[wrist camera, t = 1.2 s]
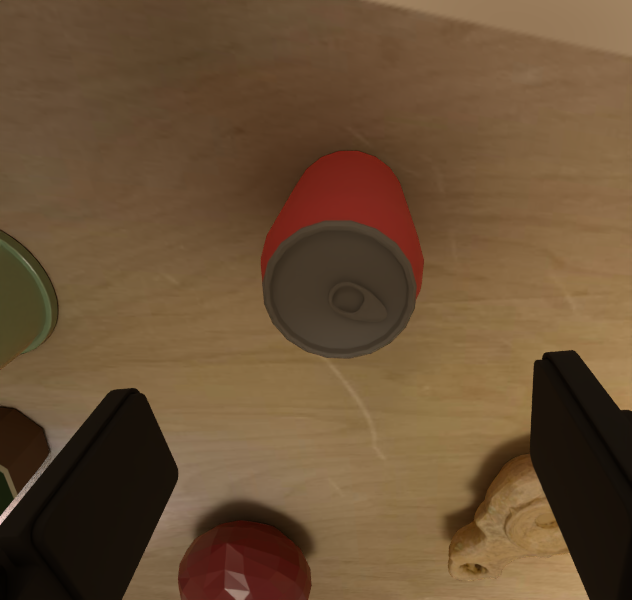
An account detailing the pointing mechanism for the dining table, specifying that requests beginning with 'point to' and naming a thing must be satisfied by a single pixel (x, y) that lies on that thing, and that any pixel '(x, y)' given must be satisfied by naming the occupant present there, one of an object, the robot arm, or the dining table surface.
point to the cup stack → (23, 301)
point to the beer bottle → (18, 453)
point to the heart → (244, 565)
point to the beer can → (342, 258)
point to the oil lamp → (506, 526)
